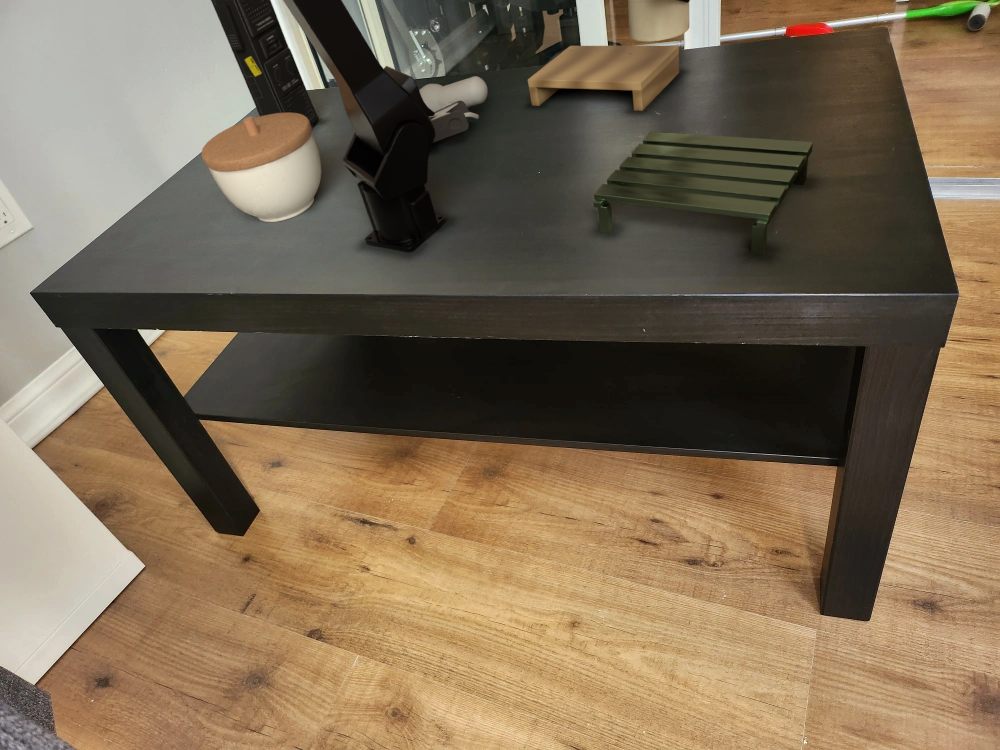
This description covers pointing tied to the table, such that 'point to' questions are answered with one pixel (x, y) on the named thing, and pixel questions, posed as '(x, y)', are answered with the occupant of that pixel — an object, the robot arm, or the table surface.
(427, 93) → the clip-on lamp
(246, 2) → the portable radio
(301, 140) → the lidded bowl
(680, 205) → the rack
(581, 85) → the shelf
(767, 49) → the table surface
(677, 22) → the cup
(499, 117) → the table surface
